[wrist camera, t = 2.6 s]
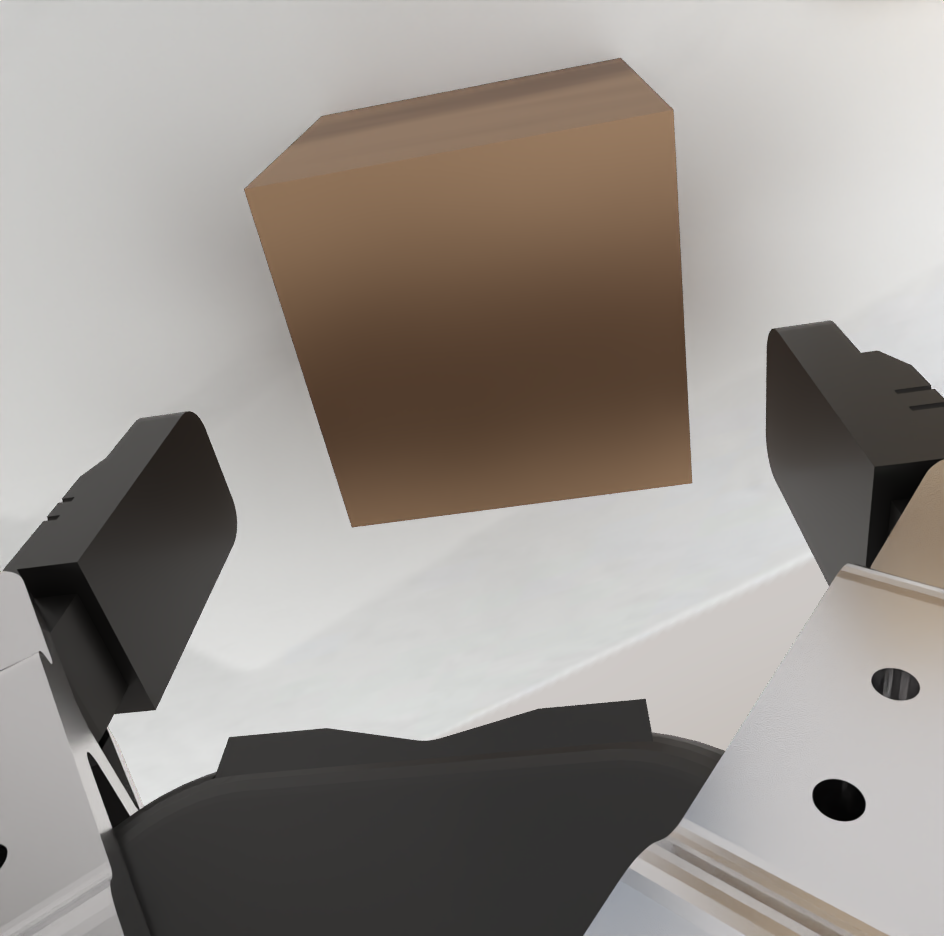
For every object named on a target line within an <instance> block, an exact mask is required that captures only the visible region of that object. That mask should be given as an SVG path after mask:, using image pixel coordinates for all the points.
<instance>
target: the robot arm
mask: <svg viewBox="0 0 944 936" xmlns="http://www.w3.org/2000/svg"><path fill="white" fill-rule="evenodd" d="M766 443H767V452H768V458H769V463H770V467H771V470H772V473H773V476H774V478H775V481H776V483H777V485H778V487H779V488H780V490H781V492H782V494H783V496H784V498H785V500H786V502H787V504H788V506H789V508H790V510H791V512H792V514H793V516H794V518H795V520H796V522H797V524H798V526H799V528H800V530H801V532H802V534H803V536H804V538H805V540H806V542H807V544H808V546H809V548H810V550H811V552H812V553H813V555H814V557H815V559H816V561H817V563H818V565H819V567H820V569H821V571H822V573H823V575H824V577H825V579H826V581H827V583H828V585H829V588H828V589H827V591H826V593H825V594H824V596H823V597H822V599H821V600H820V602H819V604H818V605H817V607H816V608H815V610H814V612H813V613H812V615H811V616H810V618H809V619H808V621H807V623H806V624H805V626H804V627H803V629H802V631H801V632H800V634H799V635H798V637H797V638H796V640H795V642H794V643H793V645H792V646H791V648H790V649H789V651H788V653H787V654H786V656H785V657H784V659H783V661H782V662H781V664H780V665H779V667H778V668H777V670H776V672H775V673H774V675H773V677H772V678H771V680H770V681H769V683H768V684H767V686H766V688H765V689H764V691H763V692H762V694H761V695H760V697H759V699H758V700H757V702H756V703H755V705H754V706H753V708H752V710H751V711H750V713H749V714H748V716H747V718H746V719H745V721H744V722H743V724H742V725H741V727H740V729H739V730H738V732H737V733H736V735H735V736H734V738H733V740H732V742H731V743H730V745H729V746H728V748H727V749H726V751H724V750H721V749H718V748H715V747H712V746H710V745H707V744H704V743H701V742H697V741H693V740H689V739H685V738H681V737H676V736H672V735H664V734H659V733H652V732H651V727H650V721H649V716H648V710H647V704H646V699H640V700H629V701H619V702H608V703H597V704H586V705H575V706H565V707H554V708H542V709H536V710H533V711H530V712H526V713H523V714H520V715H516V716H513V717H510V718H506V719H503V720H500V721H496V722H493V723H490V724H487V725H483V726H480V727H477V728H473V729H470V730H467V731H463V732H460V733H457V734H453V735H450V736H447V737H443V738H440V739H436V740H430V741H417V740H410V739H402V738H395V737H387V736H380V735H373V734H365V733H358V732H350V731H343V730H336V729H328V728H324V729H313V730H303V731H292V732H281V733H270V734H259V735H248V736H237V737H229V739H228V742H227V745H226V748H225V750H224V753H223V756H222V759H221V761H220V764H219V767H218V770H217V772H215V773H212V774H209V775H206V776H204V777H201V778H199V779H196V780H194V781H191V782H189V783H187V784H184V785H182V786H180V787H178V788H176V789H174V790H172V791H170V792H168V793H166V794H164V795H162V796H161V797H159V798H157V799H156V800H154V801H152V802H151V803H149V804H148V805H146V806H144V805H143V803H142V800H141V798H140V796H139V793H138V791H137V788H136V786H135V784H134V781H133V779H132V776H131V774H130V771H129V769H128V767H127V764H126V762H125V759H124V757H123V755H122V752H121V750H120V747H119V745H118V743H117V741H116V740H115V738H114V736H113V734H112V733H111V731H110V729H109V727H108V725H109V723H110V721H111V719H112V717H113V715H114V714H120V713H130V712H140V711H150V710H156V708H157V706H158V704H159V702H160V700H161V698H162V696H163V693H164V691H165V689H166V687H167V685H168V683H169V681H170V679H171V676H172V674H173V672H174V670H175V668H176V666H177V664H178V661H179V659H180V657H181V655H182V653H183V651H184V649H185V647H186V644H187V642H188V640H189V638H190V636H191V634H192V632H193V630H194V627H195V625H196V623H197V621H198V619H199V617H200V615H201V613H202V610H203V608H204V606H205V604H206V602H207V600H208V598H209V595H210V593H211V591H212V589H213V587H214V585H215V583H216V581H217V578H218V576H219V574H220V572H221V570H222V568H223V566H224V564H225V561H226V559H227V557H228V555H229V553H230V551H231V549H232V547H233V544H234V542H235V538H236V533H237V516H236V510H235V505H234V502H233V499H232V496H231V494H230V491H229V489H228V486H227V483H226V481H225V478H224V476H223V473H222V471H221V468H220V465H219V463H218V460H217V458H216V455H215V453H214V450H213V447H212V445H211V442H210V440H209V437H208V435H207V432H206V429H205V427H204V425H203V423H202V421H201V420H200V418H199V417H198V416H197V415H196V414H195V413H193V412H190V411H188V412H181V413H174V414H167V415H160V416H153V417H146V418H140V419H138V420H137V421H136V422H135V423H134V424H133V425H132V427H131V428H130V429H129V430H128V432H127V433H126V434H125V435H124V437H123V438H122V439H121V440H120V441H119V443H118V444H117V445H116V446H115V448H114V449H113V450H112V451H111V453H110V454H109V455H108V456H107V458H105V459H104V460H103V461H101V462H100V463H99V464H97V465H96V466H94V467H93V468H92V469H90V470H89V471H87V472H86V473H85V474H83V475H82V476H80V478H79V479H78V480H77V481H76V482H75V484H74V485H73V486H72V487H71V488H70V490H69V491H68V492H67V493H66V495H65V496H64V497H63V498H62V500H63V502H62V503H58V504H57V505H56V507H55V508H54V509H53V510H52V511H51V513H50V514H49V515H48V516H47V518H48V521H43V522H42V524H41V525H40V526H39V527H38V528H37V530H36V531H35V532H34V533H33V534H32V536H31V537H30V538H29V539H28V541H27V542H26V543H25V544H24V545H23V547H22V548H21V549H20V550H19V551H18V553H17V554H16V555H15V556H14V558H13V559H12V560H11V561H10V562H9V564H8V565H7V566H6V567H5V568H4V570H3V571H0V936H944V398H943V397H942V396H941V395H940V394H939V393H938V392H937V391H936V390H935V389H931V385H930V384H929V383H928V382H927V381H926V380H925V379H924V377H923V376H922V375H921V374H920V373H919V372H918V371H917V370H916V369H915V368H914V367H913V366H912V365H910V364H907V363H905V362H903V361H900V360H898V359H896V358H894V357H891V356H889V355H887V354H884V353H882V352H880V351H872V352H865V353H861V352H860V351H859V350H858V349H857V348H856V347H855V346H854V345H853V343H852V342H851V341H850V340H849V339H848V338H847V337H846V336H845V334H844V333H843V332H842V331H841V330H840V329H839V328H838V327H837V325H836V324H835V323H834V322H833V321H824V322H817V323H810V324H803V325H796V326H789V327H782V328H775V329H772V330H771V331H770V333H769V336H768V341H767V375H766Z"/></svg>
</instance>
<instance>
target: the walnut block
mask: <svg viewBox="0 0 944 936" xmlns="http://www.w3.org/2000/svg"><path fill="white" fill-rule="evenodd" d="M244 191H245V194H246V197H247V200H248V203H249V206H250V210H251V213H252V216H253V219H254V222H255V225H256V228H257V231H258V235H259V238H260V241H261V244H262V247H263V250H264V253H265V256H266V260H267V263H268V266H269V269H270V272H271V275H272V278H273V282H274V285H275V288H276V291H277V294H278V297H279V300H280V303H281V307H282V310H283V313H284V316H285V319H286V322H287V325H288V329H289V332H290V335H291V338H292V341H293V344H294V347H295V350H296V354H297V357H298V360H299V363H300V366H301V369H302V372H303V375H304V379H305V382H306V385H307V388H308V391H309V394H310V397H311V401H312V404H313V407H314V410H315V413H316V416H317V419H318V422H319V426H320V429H321V432H322V435H323V438H324V441H325V444H326V448H327V451H328V454H329V457H330V460H331V463H332V466H333V469H334V473H335V476H336V479H337V482H338V485H339V488H340V491H341V494H342V498H343V501H344V504H345V507H346V510H347V513H348V516H349V520H350V523H351V526H352V527H358V526H366V525H374V524H381V523H389V522H397V521H405V520H412V519H420V518H428V517H435V516H443V515H451V514H458V513H466V512H474V511H482V510H489V509H497V508H505V507H512V506H520V505H528V504H535V503H543V502H551V501H559V500H566V499H574V498H582V497H589V496H597V495H605V494H612V493H620V492H628V491H636V490H643V489H651V488H659V487H666V486H674V485H682V484H690V483H692V470H691V450H690V430H689V410H688V390H687V371H686V351H685V331H684V311H683V291H682V271H681V252H680V232H679V212H678V192H677V172H676V152H675V132H674V113H673V109H672V108H671V107H670V106H669V105H668V104H667V103H666V102H665V101H664V100H663V99H662V98H661V97H660V96H659V95H658V94H657V93H656V92H655V91H654V90H653V89H652V88H651V87H650V86H649V85H648V84H647V83H646V82H645V81H644V80H643V79H642V78H641V77H640V76H639V75H638V74H637V73H636V72H635V71H634V70H633V69H632V68H631V67H629V66H628V65H627V64H626V63H625V62H624V61H623V60H622V59H621V58H618V59H613V60H607V61H602V62H597V63H592V64H587V65H582V66H577V67H571V68H566V69H561V70H556V71H551V72H546V73H541V74H535V75H530V76H525V77H520V78H515V79H510V80H505V81H500V82H494V83H489V84H484V85H479V86H474V87H469V88H464V89H458V90H453V91H448V92H443V93H438V94H433V95H428V96H422V97H417V98H412V99H407V100H402V101H397V102H392V103H386V104H381V105H376V106H371V107H366V108H361V109H356V110H350V111H345V112H340V113H335V114H330V115H325V116H321V117H320V118H319V119H318V120H317V121H316V122H315V123H314V124H313V125H312V126H311V127H310V128H309V129H308V130H307V131H306V132H304V133H303V134H302V135H301V136H300V137H299V138H298V139H297V140H296V141H295V142H294V143H293V144H292V145H291V146H290V147H288V148H287V149H286V150H285V151H284V152H283V153H282V154H281V155H280V156H279V157H278V158H277V159H276V160H275V161H274V162H273V163H271V164H270V165H269V166H268V167H267V168H266V169H265V170H264V171H263V172H262V173H261V174H260V175H259V176H258V177H257V178H256V179H254V180H253V181H252V182H251V183H250V184H249V185H248V186H247V187H246V188H245V189H244Z"/></svg>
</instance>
